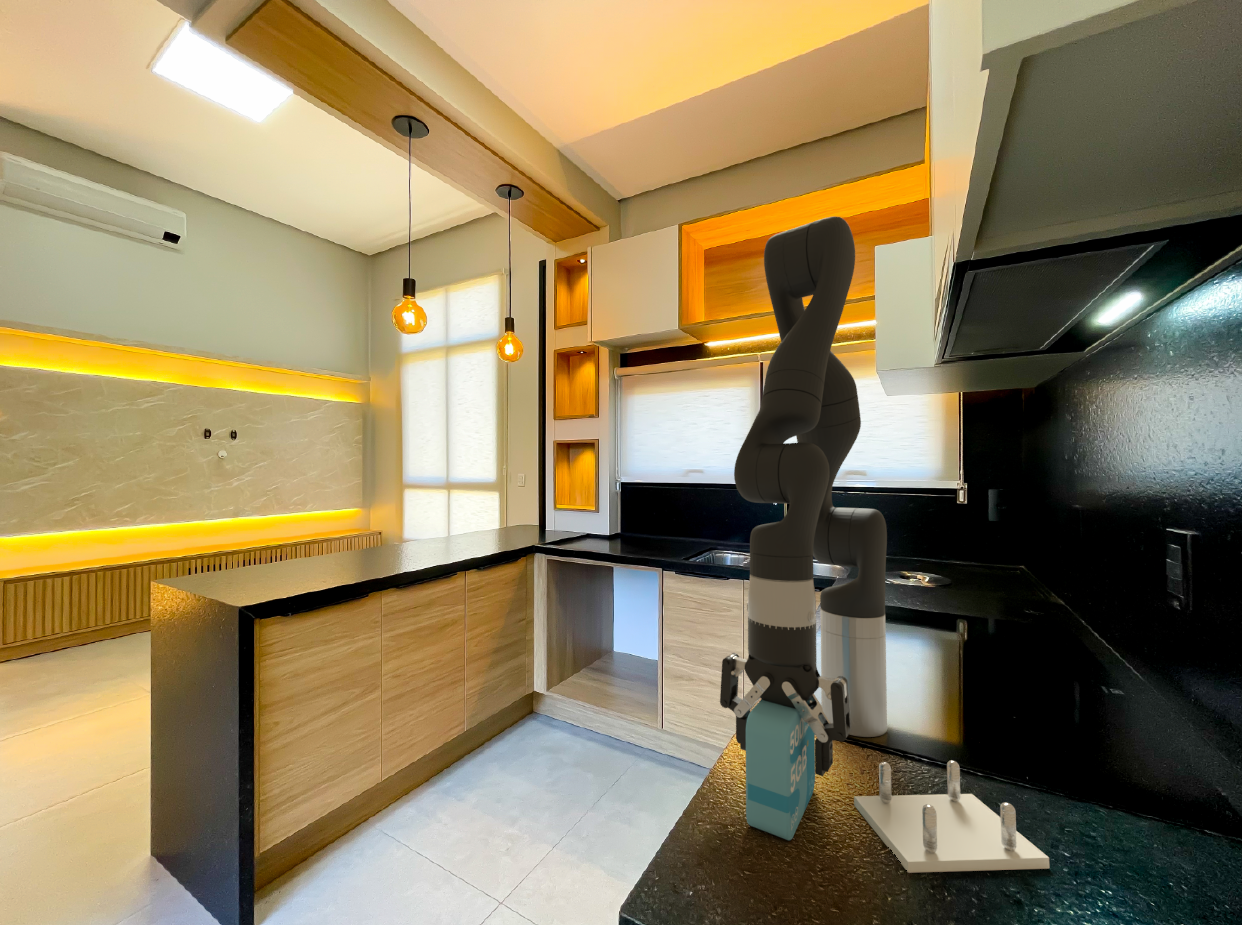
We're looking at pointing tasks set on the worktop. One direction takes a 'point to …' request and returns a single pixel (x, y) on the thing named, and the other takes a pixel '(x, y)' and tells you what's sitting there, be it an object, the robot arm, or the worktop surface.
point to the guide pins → (954, 794)
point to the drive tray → (947, 834)
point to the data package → (778, 768)
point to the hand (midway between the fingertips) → (782, 759)
